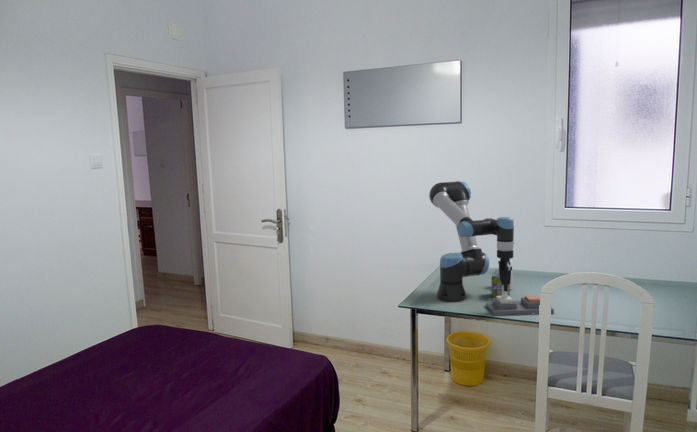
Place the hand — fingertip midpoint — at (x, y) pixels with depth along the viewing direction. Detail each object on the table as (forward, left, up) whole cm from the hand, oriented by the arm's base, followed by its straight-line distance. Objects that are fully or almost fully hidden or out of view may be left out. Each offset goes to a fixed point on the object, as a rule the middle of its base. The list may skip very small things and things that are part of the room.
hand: (504, 297), depth 225 cm
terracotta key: (+14, 0, -3) cm, 14 cm away
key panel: (+7, 0, -7) cm, 10 cm away
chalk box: (+5, +21, -7) cm, 23 cm away
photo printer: (+11, +35, -7) cm, 37 cm away
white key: (0, 0, -3) cm, 3 cm away
